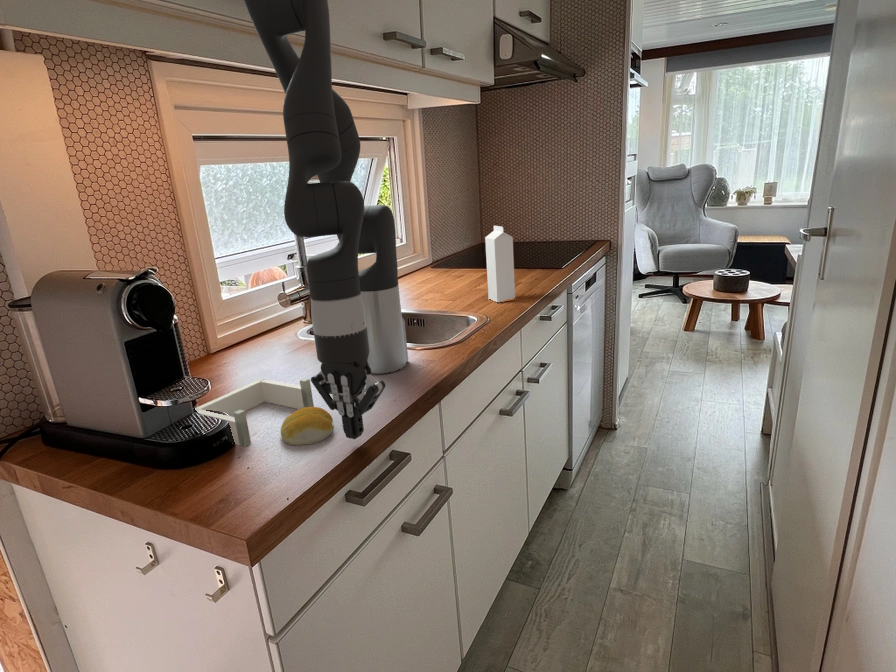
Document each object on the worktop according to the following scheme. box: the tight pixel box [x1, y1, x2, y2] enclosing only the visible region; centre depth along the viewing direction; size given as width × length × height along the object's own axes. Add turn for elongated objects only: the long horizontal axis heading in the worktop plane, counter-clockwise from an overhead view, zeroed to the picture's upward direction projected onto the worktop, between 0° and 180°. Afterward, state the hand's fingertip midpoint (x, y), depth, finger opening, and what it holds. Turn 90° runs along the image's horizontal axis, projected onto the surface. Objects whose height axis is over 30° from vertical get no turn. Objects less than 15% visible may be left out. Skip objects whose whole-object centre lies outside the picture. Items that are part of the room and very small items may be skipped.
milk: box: [484, 225, 516, 302], centre depth 165 cm, size 6×6×22 cm
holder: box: [194, 377, 315, 447], centre depth 96 cm, size 15×13×6 cm
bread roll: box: [280, 406, 334, 446], centre depth 91 cm, size 8×9×4 cm
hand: (354, 436), depth 85 cm, fingers closed
